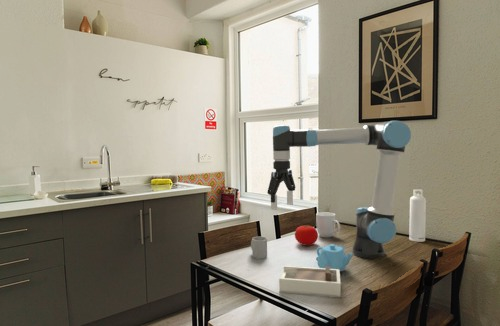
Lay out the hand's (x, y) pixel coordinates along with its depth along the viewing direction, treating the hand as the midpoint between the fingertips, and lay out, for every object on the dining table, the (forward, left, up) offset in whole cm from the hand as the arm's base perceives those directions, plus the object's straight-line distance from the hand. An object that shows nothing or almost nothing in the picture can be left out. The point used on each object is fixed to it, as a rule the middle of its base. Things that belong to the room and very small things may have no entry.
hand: (282, 207), depth 158 cm
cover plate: (-15, +24, -23) cm, 36 cm away
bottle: (-69, -51, -26) cm, 90 cm away
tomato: (-9, -31, -26) cm, 42 cm away
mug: (-20, -49, -26) cm, 59 cm away
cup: (+13, -8, -26) cm, 31 cm away
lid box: (-14, +24, -26) cm, 38 cm away
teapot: (-23, +5, -26) cm, 35 cm away
